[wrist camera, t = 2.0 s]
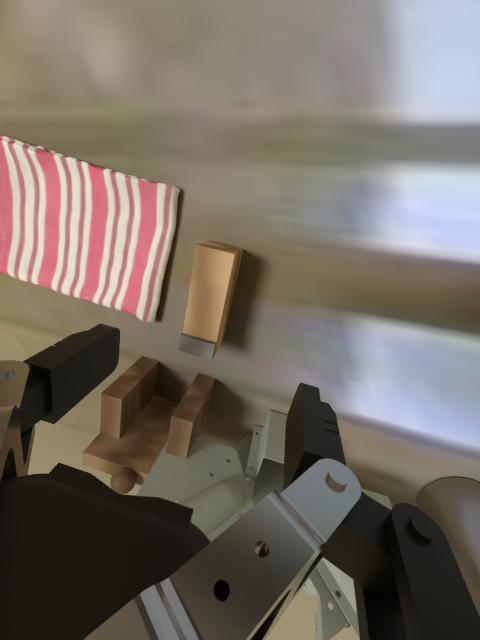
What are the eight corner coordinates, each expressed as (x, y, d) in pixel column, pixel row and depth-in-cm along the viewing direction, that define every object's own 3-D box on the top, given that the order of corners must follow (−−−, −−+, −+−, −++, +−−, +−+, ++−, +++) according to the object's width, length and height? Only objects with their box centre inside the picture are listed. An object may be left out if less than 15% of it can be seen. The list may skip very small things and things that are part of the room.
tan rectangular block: (243, 248, 32) (233, 255, 27) (223, 339, 37) (211, 360, 31) (210, 240, 32) (194, 245, 27) (195, 331, 37) (178, 350, 32)
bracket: (184, 424, 42) (99, 585, 24) (190, 386, 40) (100, 535, 21) (366, 480, 40) (427, 710, 21) (386, 444, 37) (476, 671, 19)
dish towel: (2, 133, 33) (-29, 124, 30) (185, 187, 31) (172, 184, 28) (10, 270, 40) (-15, 275, 36) (162, 321, 38) (149, 331, 35)
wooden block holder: (215, 378, 39) (174, 460, 26) (205, 423, 42) (164, 516, 29) (142, 356, 40) (67, 424, 27) (138, 402, 43) (69, 482, 30)
